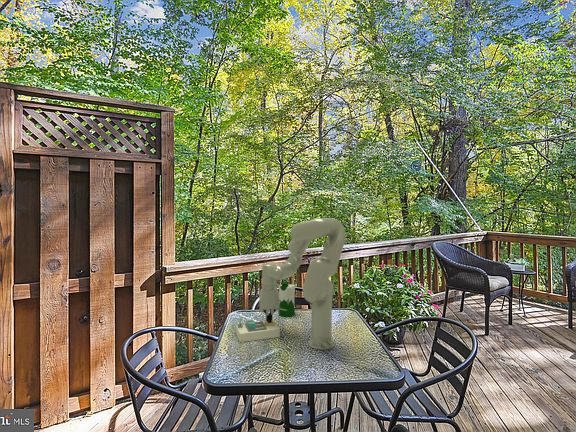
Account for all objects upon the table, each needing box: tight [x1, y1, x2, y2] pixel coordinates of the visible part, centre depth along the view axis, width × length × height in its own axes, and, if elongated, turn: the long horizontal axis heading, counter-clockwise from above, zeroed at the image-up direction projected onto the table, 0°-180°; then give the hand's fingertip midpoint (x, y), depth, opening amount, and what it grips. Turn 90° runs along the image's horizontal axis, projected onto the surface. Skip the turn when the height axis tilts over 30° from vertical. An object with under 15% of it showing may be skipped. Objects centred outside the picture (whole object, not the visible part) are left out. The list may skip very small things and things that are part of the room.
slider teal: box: [248, 321, 255, 329], centre depth 162 cm, size 3×3×4 cm
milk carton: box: [277, 281, 296, 318], centre depth 197 cm, size 9×9×20 cm
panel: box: [235, 316, 281, 343], centre depth 165 cm, size 12×20×10 cm, turn 108°
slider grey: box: [245, 318, 254, 326], centre depth 167 cm, size 3×3×4 cm
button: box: [264, 319, 276, 326], centre depth 170 cm, size 4×4×5 cm
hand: (269, 321), depth 170 cm, fingers closed
